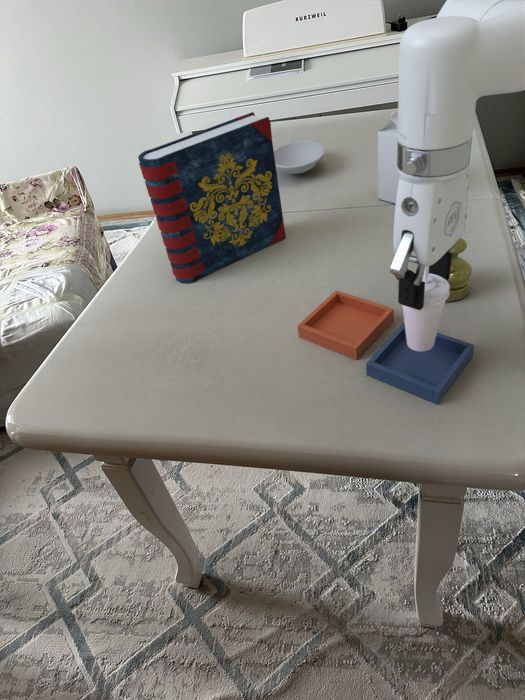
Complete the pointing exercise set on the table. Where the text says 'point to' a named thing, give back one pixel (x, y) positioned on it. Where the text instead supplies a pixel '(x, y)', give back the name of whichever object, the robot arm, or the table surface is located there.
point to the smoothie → (426, 313)
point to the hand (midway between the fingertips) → (424, 290)
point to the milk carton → (388, 160)
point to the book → (215, 195)
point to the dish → (298, 156)
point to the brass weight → (459, 273)
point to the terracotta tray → (346, 324)
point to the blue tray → (420, 365)
